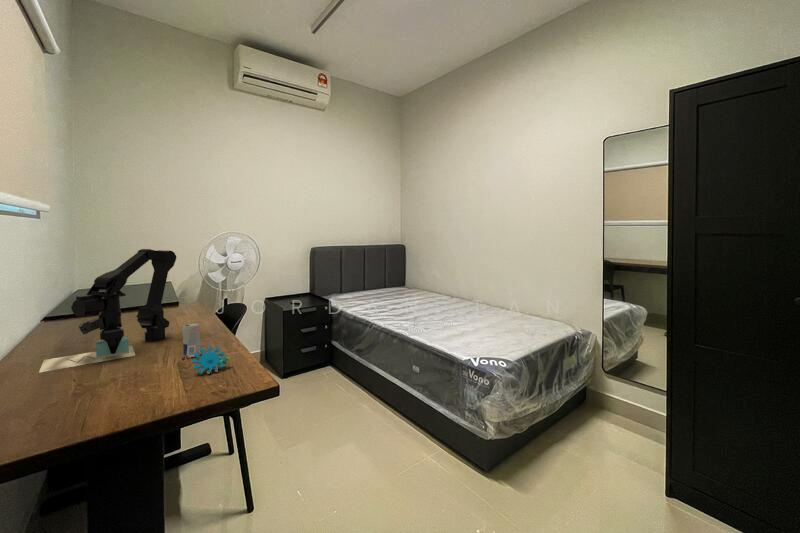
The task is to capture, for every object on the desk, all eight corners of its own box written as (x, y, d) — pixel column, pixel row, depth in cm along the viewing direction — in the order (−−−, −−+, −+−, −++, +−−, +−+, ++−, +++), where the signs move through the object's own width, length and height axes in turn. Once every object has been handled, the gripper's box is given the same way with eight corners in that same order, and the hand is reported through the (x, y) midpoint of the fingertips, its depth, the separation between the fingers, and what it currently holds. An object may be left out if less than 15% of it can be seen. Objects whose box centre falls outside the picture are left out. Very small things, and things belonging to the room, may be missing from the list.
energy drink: (188, 353, 127) (187, 323, 126) (203, 353, 127) (202, 323, 126) (180, 358, 121) (179, 326, 120) (195, 358, 122) (194, 326, 121)
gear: (191, 374, 104) (193, 345, 110) (189, 382, 108) (191, 354, 114) (229, 371, 110) (230, 345, 116) (227, 379, 114) (227, 353, 120)
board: (132, 348, 131) (132, 345, 131) (135, 358, 121) (135, 355, 121) (44, 363, 115) (43, 359, 115) (39, 376, 105) (38, 372, 105)
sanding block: (128, 349, 127) (127, 336, 126) (129, 352, 123) (128, 339, 123) (96, 354, 121) (95, 341, 120) (96, 358, 117) (95, 344, 116)
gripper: (80, 308, 122) (83, 349, 123) (78, 318, 108) (81, 364, 109) (119, 304, 129) (122, 343, 131) (122, 313, 116) (125, 356, 117)
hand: (112, 351), depth 122 cm, fingers closed on sanding block, 5 cm apart
